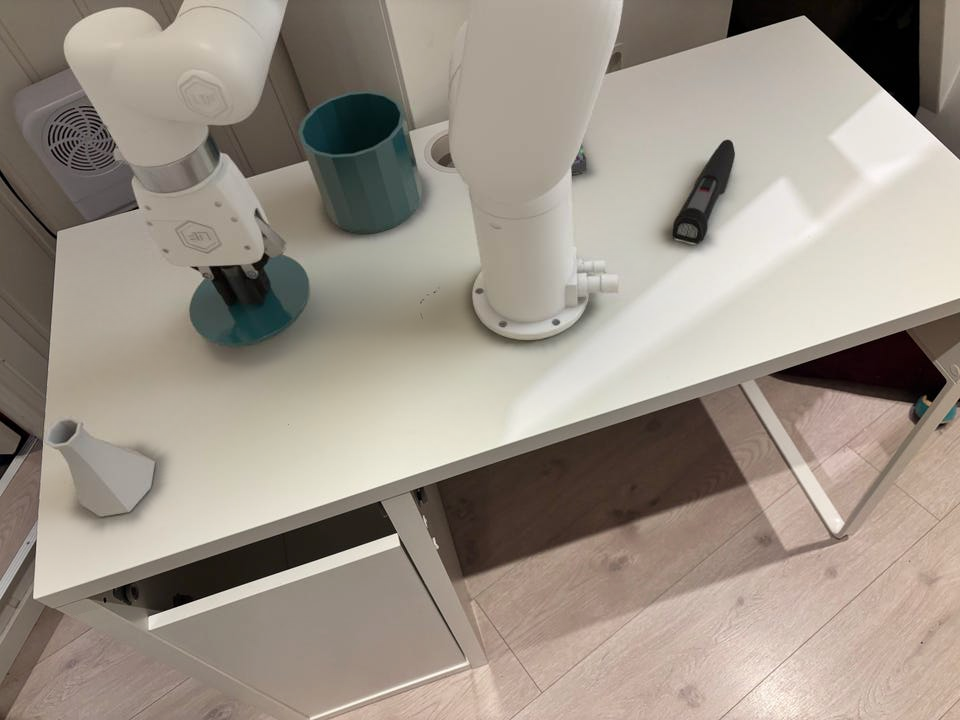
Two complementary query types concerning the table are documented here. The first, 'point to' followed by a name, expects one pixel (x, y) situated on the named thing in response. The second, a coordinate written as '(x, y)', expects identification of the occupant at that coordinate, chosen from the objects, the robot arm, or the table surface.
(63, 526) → the table surface
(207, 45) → the robot arm
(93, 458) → the flask
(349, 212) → the pot
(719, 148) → the electric trimmer
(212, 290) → the lid
